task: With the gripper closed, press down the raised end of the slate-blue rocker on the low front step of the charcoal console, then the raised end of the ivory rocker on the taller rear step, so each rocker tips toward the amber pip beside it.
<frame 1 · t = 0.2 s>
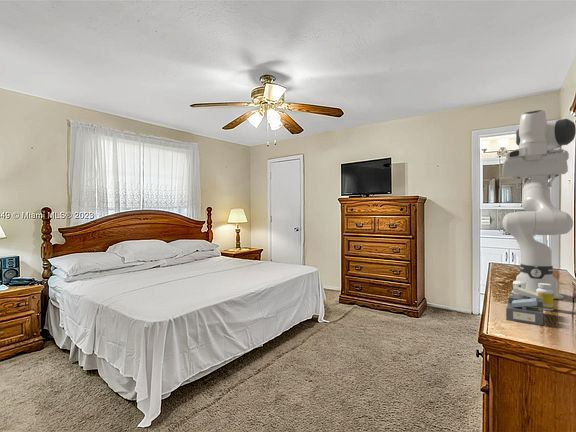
hand: (533, 187, 124), 47 cm above the table, tool pointing down, fingers open, 8 cm apart
milkshake: (520, 303, 135), on the table
supplement bottle: (544, 309, 126), on the table
rocker rear: (525, 292, 119), point 8 cm above the table, hinge at -15.0°
rocker front: (524, 302, 112), point 6 cm above the table, hinge at 15.0°
console: (525, 316, 116), on the table
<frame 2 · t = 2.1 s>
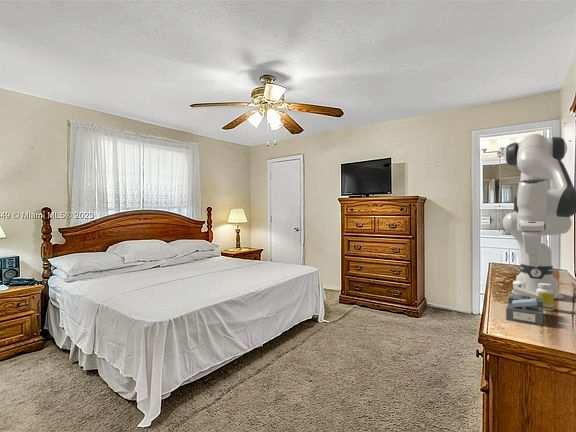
hand: (533, 265, 111), 19 cm above the table, tool pointing down, fingers open, 3 cm apart
nothing on the table moved.
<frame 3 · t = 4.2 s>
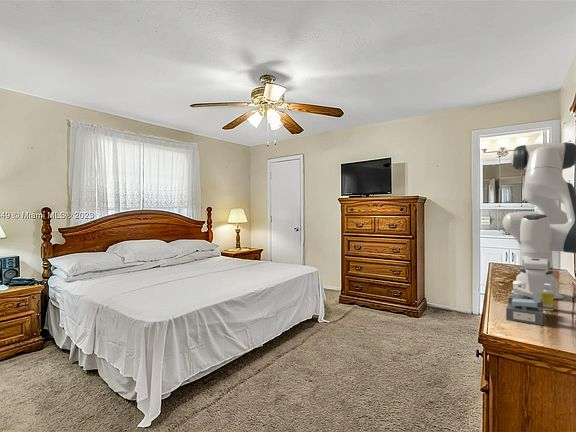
hand: (537, 301, 110), 7 cm above the table, tool pointing down, fingers closed, pressing on rocker front
rocker front: (524, 302, 112), point 6 cm above the table, hinge at 4.6°, touching gripper
everything else where it was.
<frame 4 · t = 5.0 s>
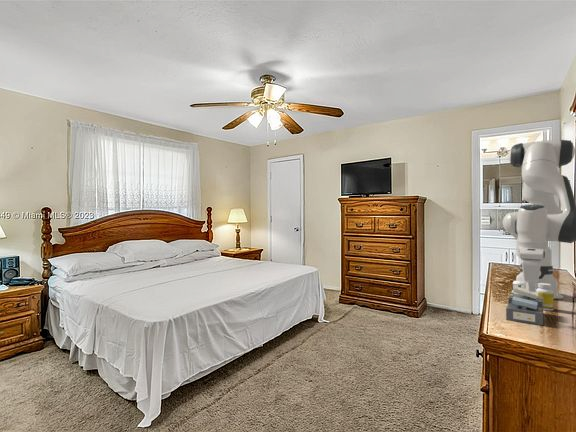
hand: (532, 291, 111), 10 cm above the table, tool pointing down, fingers closed
rocker front: (524, 302, 112), point 6 cm above the table, hinge at -8.2°
everything else where it was.
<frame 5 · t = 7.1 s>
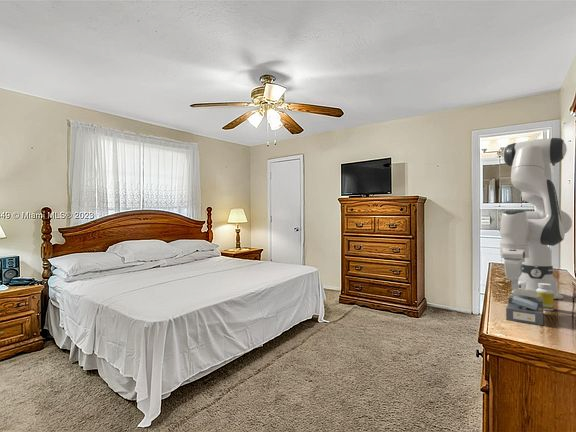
hand: (514, 289, 121), 9 cm above the table, tool pointing down, fingers closed, pressing on rocker rear
rocker rear: (525, 292, 119), point 8 cm above the table, hinge at -6.9°, touching gripper
rocker front: (524, 302, 112), point 6 cm above the table, hinge at -13.8°
everything else where it was.
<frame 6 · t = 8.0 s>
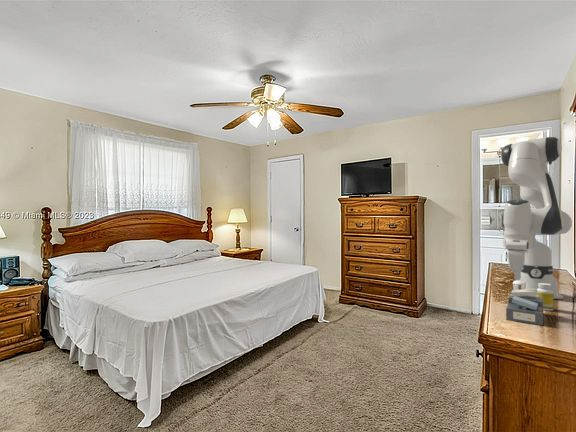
hand: (517, 279, 121), 12 cm above the table, tool pointing down, fingers closed
rocker rear: (525, 292, 119), point 8 cm above the table, hinge at 10.7°
rocker front: (524, 302, 112), point 6 cm above the table, hinge at -14.1°
everything else where it was.
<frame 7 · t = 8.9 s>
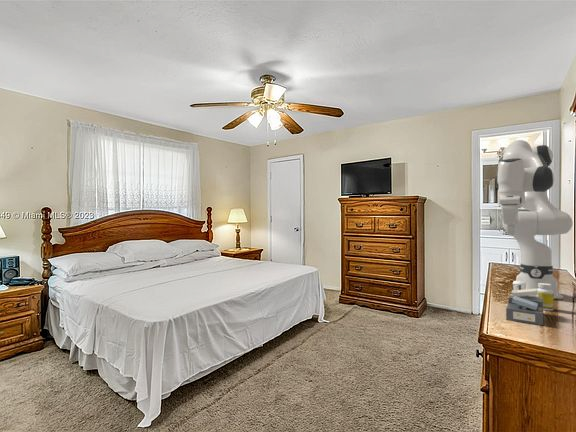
hand: (511, 235, 125), 29 cm above the table, tool pointing down, fingers closed
rocker rear: (525, 292, 119), point 8 cm above the table, hinge at 13.7°
everything else where it was.
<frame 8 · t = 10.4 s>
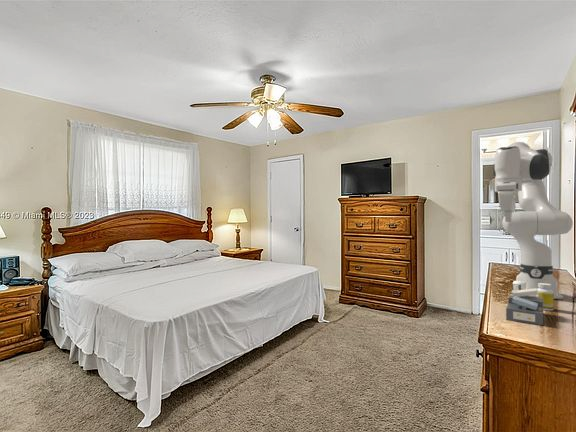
hand: (508, 221, 127), 34 cm above the table, tool pointing down, fingers closed
rocker rear: (525, 292, 119), point 8 cm above the table, hinge at 14.9°
everything else where it was.
at the end: rocker front at -14° (first picture: +15°); rocker rear at +15° (first picture: -15°) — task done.
